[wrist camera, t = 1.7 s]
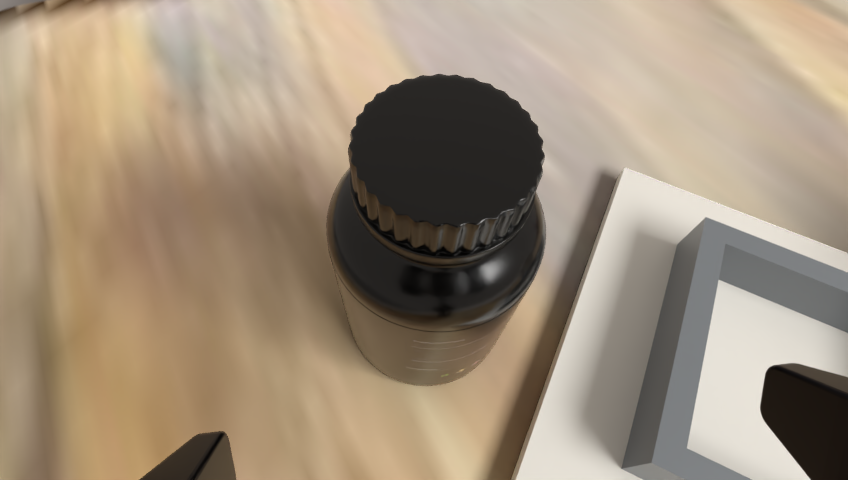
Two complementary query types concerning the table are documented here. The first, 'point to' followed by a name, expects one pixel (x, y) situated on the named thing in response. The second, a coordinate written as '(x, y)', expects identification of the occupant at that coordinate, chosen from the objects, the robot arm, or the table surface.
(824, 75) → the table surface
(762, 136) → the table surface
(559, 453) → the pocket plate
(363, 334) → the supplement bottle
